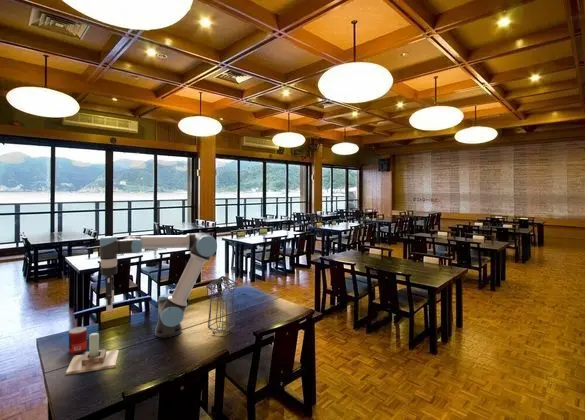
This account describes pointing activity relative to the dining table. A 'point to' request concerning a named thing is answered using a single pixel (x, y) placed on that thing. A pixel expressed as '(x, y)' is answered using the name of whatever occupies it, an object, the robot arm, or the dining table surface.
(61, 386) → the dining table surface
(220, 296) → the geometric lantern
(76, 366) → the socket board
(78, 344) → the canned food
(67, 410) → the dining table surface
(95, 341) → the peg
